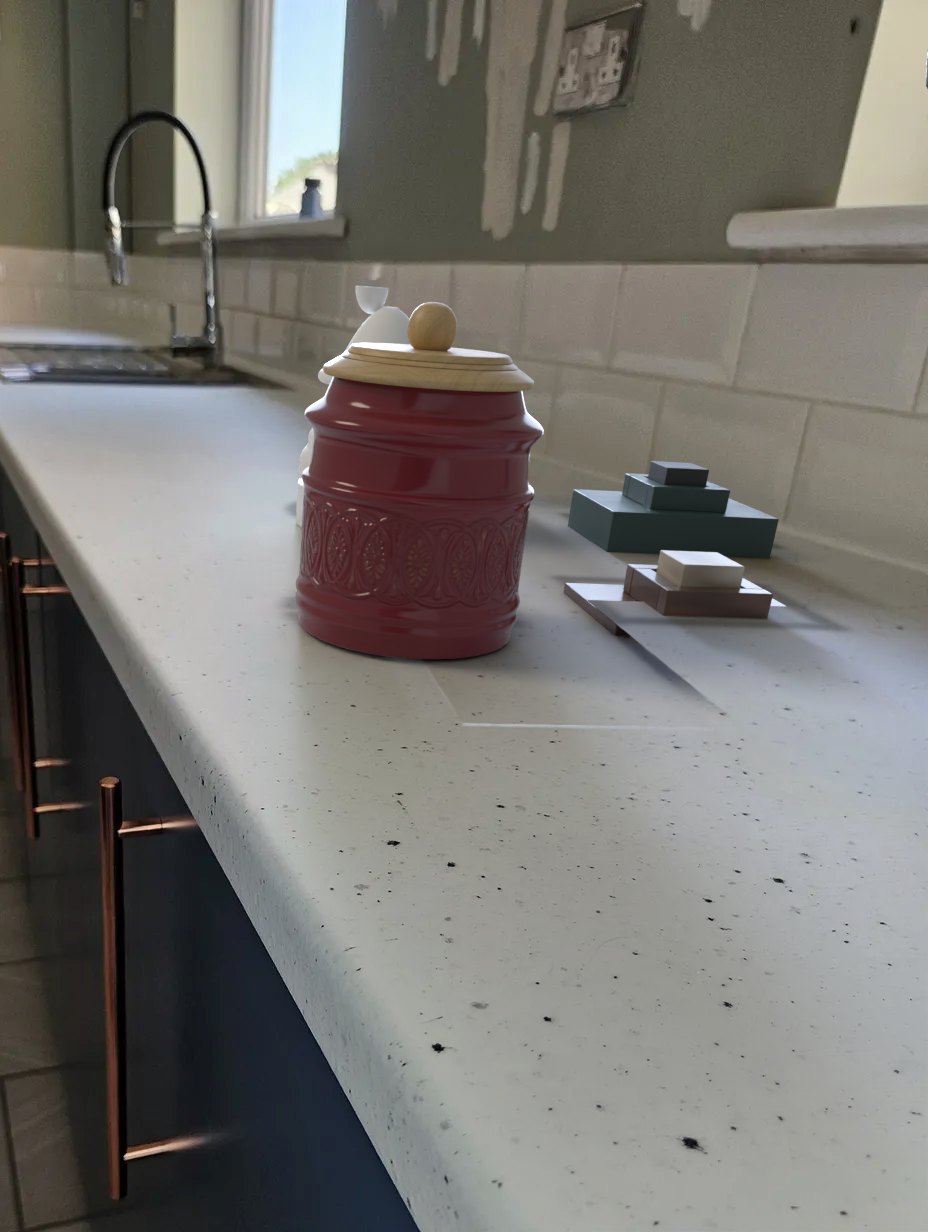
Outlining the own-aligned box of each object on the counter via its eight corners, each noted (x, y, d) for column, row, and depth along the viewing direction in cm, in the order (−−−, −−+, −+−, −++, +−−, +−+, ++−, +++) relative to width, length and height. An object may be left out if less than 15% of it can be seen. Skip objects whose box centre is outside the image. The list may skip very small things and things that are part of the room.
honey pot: (263, 520, 92) (273, 279, 85) (361, 505, 102) (378, 286, 94) (386, 550, 85) (409, 290, 78) (480, 531, 94) (508, 296, 87)
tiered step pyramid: (717, 532, 101) (729, 475, 99) (770, 558, 92) (784, 496, 90) (567, 526, 99) (576, 467, 97) (606, 552, 90) (617, 488, 88)
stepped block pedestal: (754, 599, 79) (762, 563, 78) (829, 642, 70) (839, 602, 69) (563, 592, 77) (568, 556, 76) (614, 635, 68) (621, 595, 67)
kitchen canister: (494, 678, 59) (543, 312, 51) (261, 642, 62) (276, 291, 54) (528, 617, 70) (572, 310, 63) (330, 590, 73) (349, 294, 66)
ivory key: (712, 578, 75) (717, 552, 74) (739, 594, 71) (745, 566, 70) (655, 576, 74) (660, 549, 73) (679, 592, 70) (685, 564, 70)
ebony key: (687, 484, 95) (691, 462, 95) (705, 491, 92) (709, 469, 91) (646, 482, 95) (650, 460, 94) (663, 489, 92) (667, 467, 91)
